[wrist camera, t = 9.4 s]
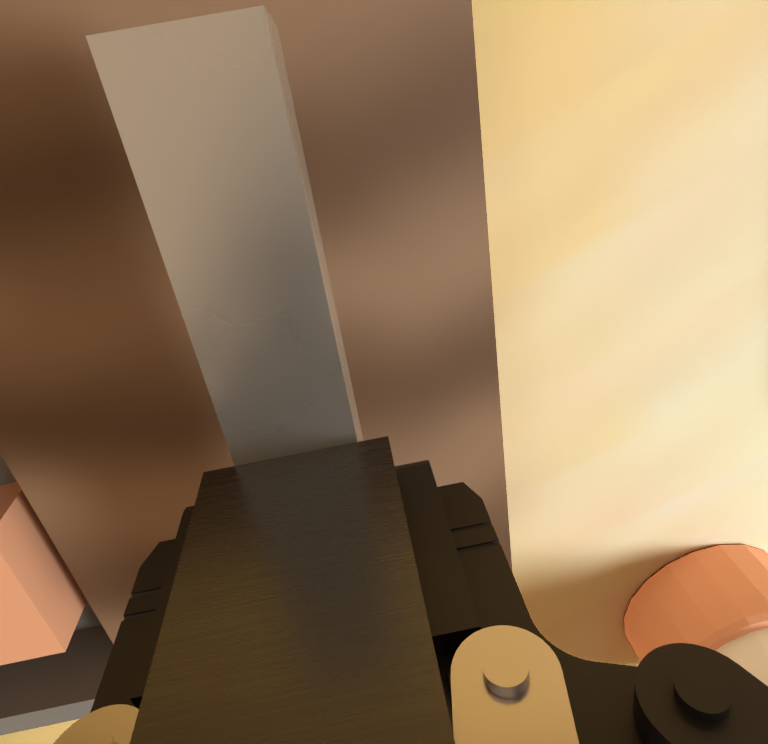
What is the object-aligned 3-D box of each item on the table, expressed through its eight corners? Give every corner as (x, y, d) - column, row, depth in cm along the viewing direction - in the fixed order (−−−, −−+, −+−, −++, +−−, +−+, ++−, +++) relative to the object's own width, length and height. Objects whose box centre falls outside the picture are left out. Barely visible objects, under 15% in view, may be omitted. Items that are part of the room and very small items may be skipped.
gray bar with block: (119, 53, 9) (-590, -39, 2) (308, 22, 9) (300, -185, 2) (325, 683, 16) (336, 1140, 9) (427, 661, 17) (515, 1099, 9)
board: (-182, 19, 13) (-262, 10, 11) (442, -88, 13) (463, -113, 11) (142, 621, 22) (128, 669, 20) (497, 548, 22) (513, 588, 21)
